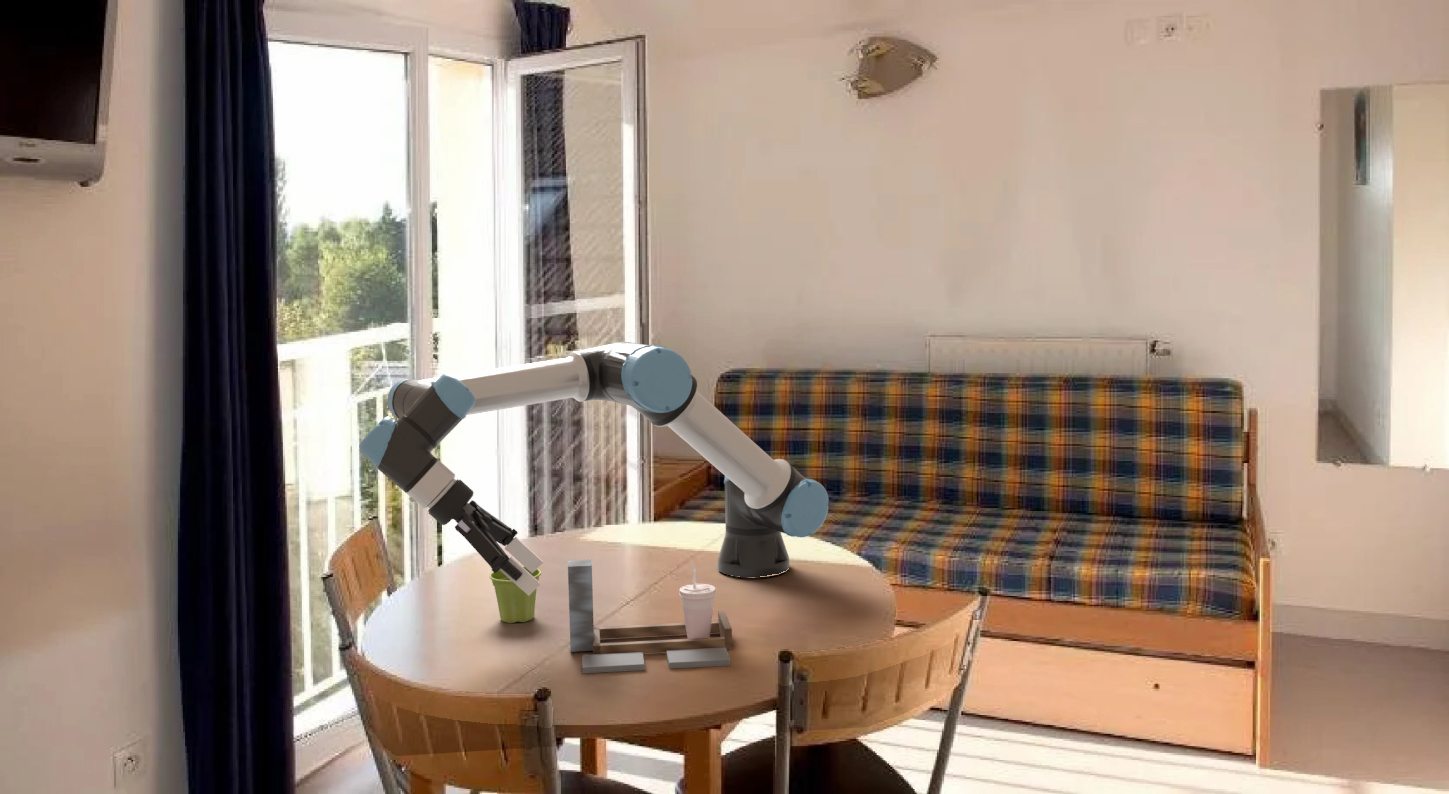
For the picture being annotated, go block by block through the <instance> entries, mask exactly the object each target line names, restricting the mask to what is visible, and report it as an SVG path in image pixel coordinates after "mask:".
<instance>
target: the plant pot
mask: <svg viewBox="0 0 1449 794" xmlns="http://www.w3.org/2000/svg"><path fill="white" fill-rule="evenodd" d="M522 567H523V568H524V569H525V570H527V571H528V572H529V573H530V574H531V575H532V576H533V577H534V578H536V579H537V580H538V581H539V579H540V578H539V577H540V576H542V571H541V570H540V569H539V568H537V569H536V570H535V571H534V572H533V573H531V572H530V571H529V570H528V569H527V568H526V567H524V566H522ZM488 576H489V580H491V583H492V586H493V587H494V591H495V595H496V596H495V597H496V601H497V605H498V612H499V617H500V620H501V621H502V622H504V623H508V624H514V623H516V622H520V623H525V622H529V621H531V620H533V619H534V617H535V611H536V610H535V609H536V598H537V590H538V587H537V588H536V589H535V590H534V591H533V592H532V593H531V594H530V595H529V596H528V595H527V594H526V593H525V592H524V591H523V590H521V589H520V588H519V587H518V586H517V585H516V584H515V583H514V582H512V581H511V580H510V579H509V578H508V577H507V576H506V575H505V574H503V573H502V572H501V571H500V570H499V571H498V572H497V573H494V572H493V571H492V572H490V573H489V575H488Z"/></svg>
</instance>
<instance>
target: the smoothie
mask: <svg viewBox="0 0 1449 794" xmlns="http://www.w3.org/2000/svg"><path fill="white" fill-rule="evenodd" d="M691 565H692V569H691V570H692V584H686V585H683V586H681V587H680V588H679V593H678V594H679V595H678V596H679V597H681V605H682V610H683V617H684V623H685V626H686V633H687V635H686V637H687V638H686V639H694V638H711V633H710V631H711V622H712V621H713V612H714V611H713V610H714V602H715V596H716V595H717V588H716V586H714V585H711V584H707V583H697V571H696V569H697V567H696V563H692V564H691Z"/></svg>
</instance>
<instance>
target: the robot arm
mask: <svg viewBox="0 0 1449 794" xmlns="http://www.w3.org/2000/svg"><path fill="white" fill-rule="evenodd" d="M572 398H573V399H574V400H575V401H577V402H579V403H581V402H587V401H605V402H606V401H608V402H612V403H613V402H614V403H618V404H622V405H625V406H630V407H631V408H634V410H636V411H637V412H638V413H640V415H642V416H643V417H644V418H645V419H646V420H648V421H649V422H650V423H651V424H652V425H653V426H655V427H658V428H662V427H668V428H669V429H671V430H672V431H673V432H674V433H675V434H677V436H679V438H680V439H682V440H683V441H685V442H686V443H687V444H688V445H689V446H690V447H691V448H692V449H693V450H695V451H696V452H697V453H698V454H699V455H700V456H702V457H703V458H704V459H705V460H706V461H708V462H709V464H711V465H712V466H713V467H715V469H716V470H718V471H719V472H720V473H721V474H723V475H724V480H723V484H724V509H725V511H724V512H725V513H724V514H725V517H724V518H725V534H724V535H725V536H724V538H723V541H722V545H721V547H720V551H719V555H718V558H717V570H719V571H720V572H722V573H724V574H728V575H733V576H740V577H760V576H767V575H772V574H779V573H781V572H783V571H786V570H787V569H788V568H789V566H790V565H791V564H790V556H789V554H788V550H787V548H786V544H785V541H784V538H783V535H782V533H783V534H786V535H787V536H790V537H792V538H793V537H796V538H807V537H809V536H812V535H814V534H815V533H816V532H817V531H819V529H820V528H821V527H822V525H823V524H824V522H825V520H826V518H827V515H828V512H829V500H830V499H829V494H828V492H827V490H826V488H825V487H824V485H822V483H820V482H819V481H817V480H816V479H813V478H806V477H805V476H804V475H802V474H801V473H800V472H799V471H798V470H797V469H796V468H795V467H793V466H792V465H791V464H790V463H789V462H788V461H787V460H786V459H782V458H776V459H773V458H772V456H770V455H769V454H768V453H766V451H764V450H763V449H762V448H761V447H760V446H759V445H758V444H756V443H755V442H754V441H753V440H752V439H751V438H750V437H749V436H748V435H746V433H744V432H743V430H741V429H740V428H739V427H738V426H736V425H735V423H733V422H732V421H731V420H730V419H729V418H728V417H727V416H726V415H724V414H723V413H722V412H721V411H720V409H718V408H717V407H716V406H715V405H713V404H712V403H711V402H710V401H709V400H708V399H707V398H706V397H704V396H703V395H702V393H700V392H699V382H698V380H697V379H696V377H694V375H692V370H691V368H690V366H689V364H688V362H687V361H686V359H685V358H684V357H682V356H681V355H680V354H679V352H676V351H675V350H672V349H671V348H669V347H666V346H662V345H658V344H650V345H649V344H644V343H643V344H642V343H635V342H630V341H629V342H628V341H622V342H621V341H620V342H614V343H610V344H604V345H601V346H596V347H591V348H590V347H589V348H587V349H581V350H574V351H571V352H570V353H568V355H567V357H566V358H556V359H551V360H545V361H539V362H532V363H525V364H518V365H510V366H506V367H505V366H504V367H498V368H490V369H485V370H479V371H477V370H476V371H472V372H465V373H457V374H451V373H443V374H442V375H441V376H439V377H432V378H425V379H416V378H406V379H405V378H404V379H402V380H399V381H397V382H396V383H394V384H393V385H392V387H390V389H389V392H388V395H387V405H388V406H387V407H388V410H389V411H390V412H391V414H392V415H393V416H394V417H396V418H397V420H396V419H393V418H392V417H391V416H385V417H383V418H382V419H381V420H380V422H378V424H376V425H375V426H374V427H373V428H372V429H371V431H369V432H368V434H367V435H366V436H365V437H364V438H363V439H362V440H361V441H360V443H359V452H360V453H361V454H362V455H363V456H364V457H365V458H366V460H368V461H369V463H372V465H373V466H374V467H375V468H376V469H378V471H380V472H381V473H382V474H383V475H384V476H385V477H387V478H388V479H389V481H391V482H393V483H394V484H395V486H397V487H398V488H399V489H400V490H402V491H403V492H404V493H405V494H407V495H408V496H409V499H408V500H409V501H410V503H414V502H416V503H417V504H418V505H419V506H420V507H421V508H423V509H427V508H428V510H427V512H428V514H429V515H430V516H431V517H432V518H433V519H435V520H436V522H438V523H439V524H440V525H441V526H445V525H447V524H448V523H450V522H451V521H452V520H454V521H455V522H456V523H457V524H456V525H455V526H454V529H455V531H457V532H458V533H460V535H461V536H462V537H464V539H465V540H466V541H467V542H468V543H469V544H470V546H471V547H473V549H474V550H475V551H476V552H477V553H478V554H479V556H481V558H482V559H483V560H484V561H485V562H486V563H487V564H488V566H489V567H490V568H491V571H492V572H494V573H497V572H498V571H499V570H500V571H501V572H502V573H503V574H505V575H506V576H507V577H508V578H509V579H510V580H511V581H512V582H514V583H515V584H516V585H517V586H518V587H519V588H520V589H521V590H523V591H524V592H525V593H526V594H527V595H528V596H529V595H530V594H531V593H532V592H533V591H534V590H535V589H536V588H537V589H538V587H539V586H540V585H541V582H540V581H539V580H537V579H536V578H534V577H533V576H532V575H531V574H530V573H529V572H528V571H527V570H525V569H524V568H523V567H526V568H527V569H528V570H529V571H530V572H531V573H533V572H534V571H535V570H536V569H539V567H540V566H541V565H542V564H543V563H544V561H543V560H542V559H541V558H540V557H539V556H538V555H537V554H536V553H535V552H534V551H532V549H530V548H529V547H528V546H527V545H526V544H525V543H523V541H521V540H520V539H519V538H518V537H517V534H519V532H518V531H517V529H515V528H513V529H512V528H511V527H510V526H508V525H506V523H504V522H502V521H501V520H499V519H498V518H497V517H495V516H494V515H492V514H491V513H490V512H488V511H487V510H485V509H484V508H483V507H482V506H480V505H479V504H478V503H477V502H476V501H475V500H473V499H472V498H473V496H474V491H473V489H472V488H470V487H469V486H468V485H467V484H466V483H465V482H463V480H461V479H458V478H457V479H455V477H456V474H455V473H454V472H453V471H451V469H449V468H448V467H447V466H446V465H445V464H444V463H443V462H442V461H441V460H439V459H438V458H436V457H435V456H434V454H433V453H432V452H433V450H435V448H436V447H437V446H439V444H441V442H442V441H443V440H444V439H445V438H446V437H447V436H448V435H449V434H450V433H451V432H452V431H453V430H454V429H455V428H456V427H457V426H458V425H459V423H461V421H462V420H464V419H465V418H467V416H468V415H474V414H481V413H487V412H494V411H500V410H505V409H512V408H517V407H524V406H530V405H537V404H543V403H548V402H553V401H554V402H555V401H560V400H566V399H572ZM471 499H472V500H471ZM501 545H502V546H504V548H502V547H501ZM504 550H505V551H506V552H508V553H509V554H510V555H511V556H510V557H509V555H508V554H507V553H506V552H505V551H504ZM719 571H718V572H719ZM720 572H719V573H720ZM722 573H721V574H722ZM724 574H723V575H724ZM728 575H727V576H728Z"/></svg>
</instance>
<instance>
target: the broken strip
mask: <svg viewBox="0 0 1449 794" xmlns="http://www.w3.org/2000/svg"><path fill="white" fill-rule="evenodd" d="M665 654H666V660H667V664H668V665H667V666H668V669H671V670H672V669H687V668H691V669H692V668H705V667H707V668H709V667H723V666H731V658H730V656H729V653H728V649H726V647H724V648H705V649H686V650H667V651H666V653H665ZM581 658H582V662H581V663H582V674H596V673H617V672H618V673H619V672H633V671H645V669H646V668H645V659H644V654H643V652H630V653H611V654H593V653H592V654H582V657H581Z"/></svg>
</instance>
